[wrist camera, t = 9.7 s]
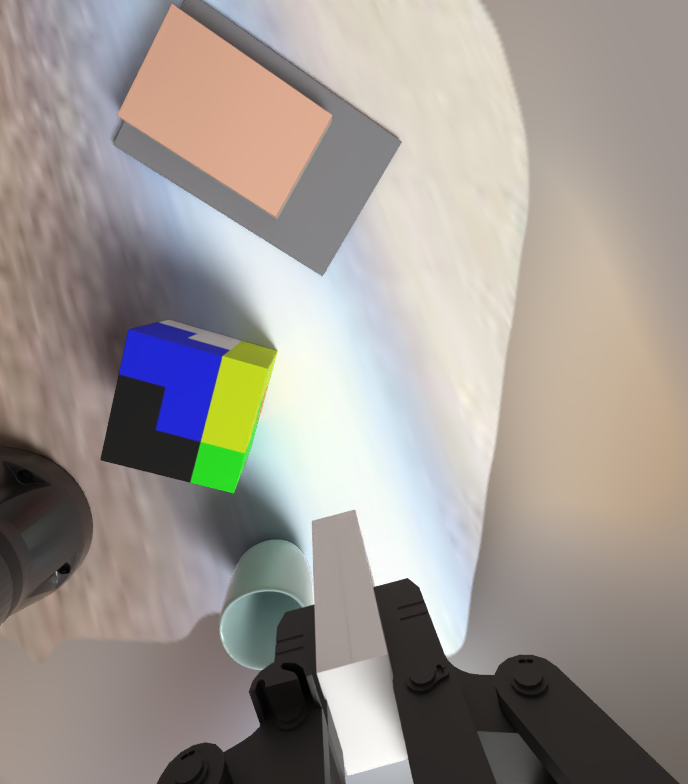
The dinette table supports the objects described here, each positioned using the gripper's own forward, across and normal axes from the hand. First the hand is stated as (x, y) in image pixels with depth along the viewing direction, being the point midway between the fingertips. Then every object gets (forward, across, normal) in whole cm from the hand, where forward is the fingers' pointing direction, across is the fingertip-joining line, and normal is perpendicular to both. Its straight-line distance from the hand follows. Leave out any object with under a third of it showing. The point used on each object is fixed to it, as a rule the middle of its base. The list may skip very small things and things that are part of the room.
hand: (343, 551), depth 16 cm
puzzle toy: (+31, -10, +2) cm, 32 cm away
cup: (+30, -9, -17) cm, 36 cm away
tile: (+29, +3, +18) cm, 34 cm away
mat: (+30, 0, +21) cm, 37 cm away
